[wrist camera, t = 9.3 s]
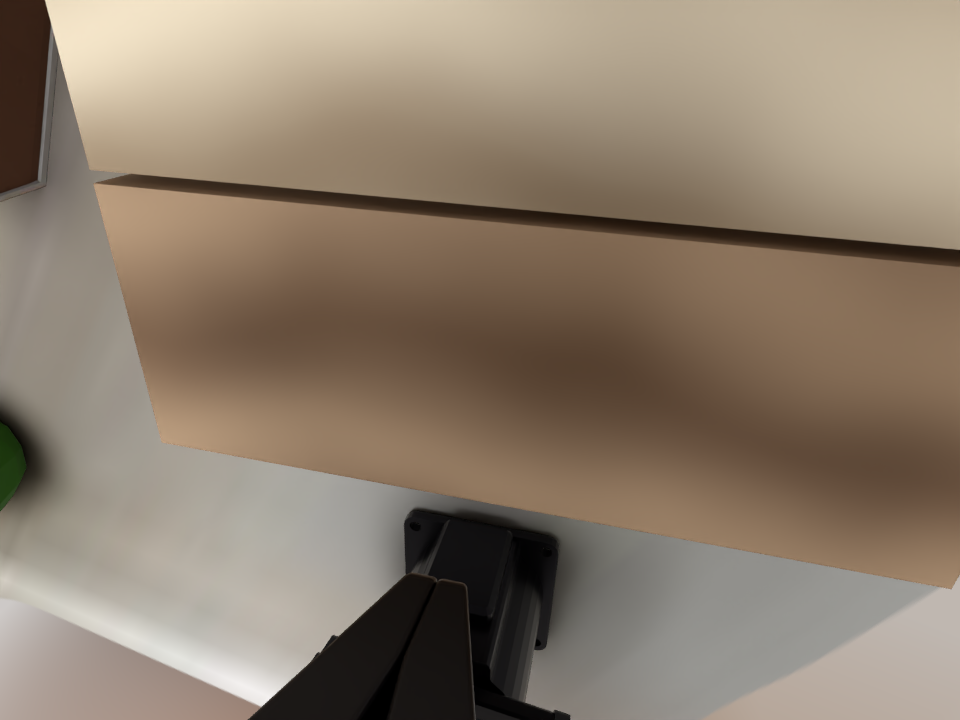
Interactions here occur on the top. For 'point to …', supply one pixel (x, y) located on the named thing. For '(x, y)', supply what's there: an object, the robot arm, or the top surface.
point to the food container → (25, 95)
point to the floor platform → (561, 363)
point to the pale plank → (542, 105)
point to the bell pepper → (9, 465)
